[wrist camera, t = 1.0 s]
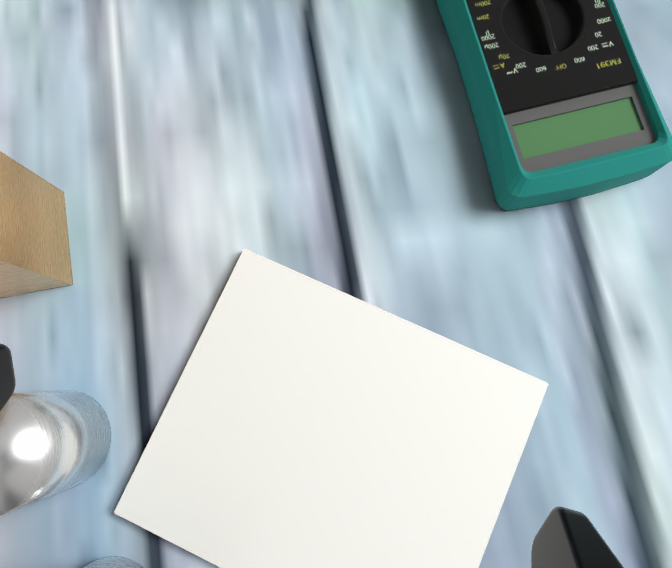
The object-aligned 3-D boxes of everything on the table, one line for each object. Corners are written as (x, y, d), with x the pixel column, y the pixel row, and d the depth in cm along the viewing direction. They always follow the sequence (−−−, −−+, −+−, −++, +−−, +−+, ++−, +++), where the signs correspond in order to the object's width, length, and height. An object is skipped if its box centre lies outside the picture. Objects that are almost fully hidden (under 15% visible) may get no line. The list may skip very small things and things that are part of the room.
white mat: (433, 670, 20) (435, 678, 20) (118, 509, 22) (113, 512, 21) (544, 383, 22) (548, 383, 22) (246, 251, 23) (244, 248, 23)
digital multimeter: (550, -89, 27) (575, -146, 24) (652, 182, 24) (693, 155, 21) (409, -55, 26) (417, -109, 24) (496, 220, 24) (516, 199, 21)
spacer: (82, 504, 22) (3, 542, 17) (0, 462, 22) (-100, 487, 17) (127, 414, 22) (64, 425, 18) (47, 375, 23) (-37, 375, 18)
